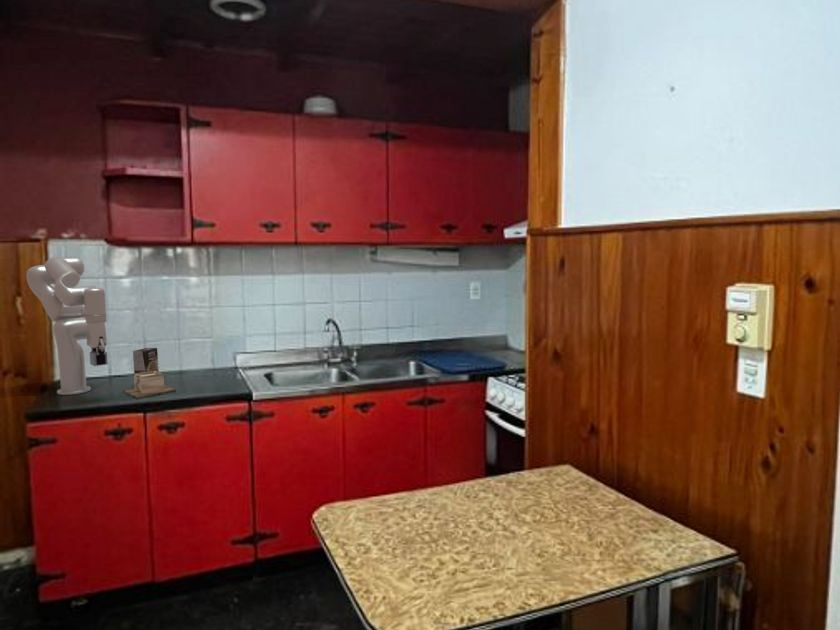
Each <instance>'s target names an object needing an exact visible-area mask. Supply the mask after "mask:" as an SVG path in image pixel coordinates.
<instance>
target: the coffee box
mask: <svg viewBox="0 0 840 630" xmlns="http://www.w3.org/2000/svg"><path fill="white" fill-rule="evenodd" d="M132 356H133V359H132V360H133V361H132V362H133V375H134V374H138V373H144V372H151V371H156V372H159V373H160V370H159V357H158V356H159V355H158V348H157V347H145V348H144V347H143V348H140V349H136V350H132Z"/></svg>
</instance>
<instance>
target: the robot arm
mask: <svg viewBox="0 0 840 630" xmlns="http://www.w3.org/2000/svg"><path fill="white" fill-rule="evenodd" d="M84 272H85V264H84V262H83V260H81V259H80V257H77V256H58V257H57V256H56V257H55V256H54V257H51V258H48V259H47V260H46V261H45V263H44V264H39V265H35V266H32V267H30V268H28V270H27V271H26V281H27V282H26V283H27V284H28V286H29V289H30V290H31V292H32V293H33V295H35V297H37V298H38V301H40V303H41V304H42V306H43V308H44V310H45V312H46V313H47V315H48V317H49V319H50V320H51V321H53V322H54V324H53V326H52V329H53V330H52V332H53V336H54V339H55V343H56V347H57V354H58V355H57V357H58V367H59V369H58V370H59V379H60V381H59V382H60V388H59V389H57V390H56V394H58V395H61V396H64V395H65V396H67V395H70V396H71V395H78V394H79V395H80V394H84V393H88V392H90V391H91V389H92V388H91V386H89V385H87V376H86V364H85V363H86V361H85V352H84V349H83V347H82V346H81V345H80V344H79V343H78V341H81V340H86V345H87V346H88V347H90V348H91V351H90V352H95V351H97V355H96V361H97V365H99V366H104V365H103V364H106V360H105V352H106V347H107V343H108V341H107V339H108V338H107V331H106V323H107V307H106V306H107V305H106V293H105V289H104V288H101V287H96V286H93V285H92V286H78V285H79V283H80V281H81V280H80V279H81V276H82V275H83V274H84ZM52 285H54V286H52Z"/></svg>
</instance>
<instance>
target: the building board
mask: <svg viewBox="0 0 840 630" xmlns="http://www.w3.org/2000/svg"><path fill="white" fill-rule="evenodd" d="M133 375H134V376H133V386H134V388H128V389H123V390H122V392H124V393H123V394H125V393H126V395H127V394H128V395H127V396H129V395H130V397H131V396H133V397H132V398H134V397H135V398H134V399H136V398H140V399H143V398H142V397H146V398H149V397H148V396H151V397H154V396H153V395H157V394H162V395H164V394H163V393H168V394H170V393H169V392H173V393H176V392H177V390H176V388H172V387H170V386H168V385H165V379H164V378H165V377H164V375H163V373H162V372H160V371H159V372H156V371H151V372H144V373H138V374H134V373H133ZM175 391H176V392H175ZM157 396H158V395H157Z"/></svg>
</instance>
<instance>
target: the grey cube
mask: <svg viewBox="0 0 840 630" xmlns="http://www.w3.org/2000/svg"><path fill="white" fill-rule="evenodd" d="M96 355H97V351H95V352H91V351H90V352H89V361H90V362H89V363H90V365H91V366H93V367H98V366H100V365H97V361H96ZM105 360H106V364H103V365H102V366H106V365H108V364H109V363H108V352H107V351H105Z"/></svg>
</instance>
